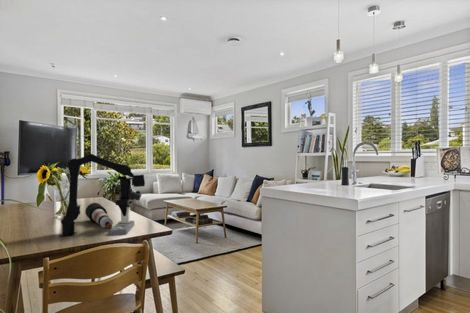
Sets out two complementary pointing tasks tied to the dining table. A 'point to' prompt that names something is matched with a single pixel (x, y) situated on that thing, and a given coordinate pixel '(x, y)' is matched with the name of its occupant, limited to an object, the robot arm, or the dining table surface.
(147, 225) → the dining table surface
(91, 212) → the cable
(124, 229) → the grey hollow box
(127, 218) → the white block
